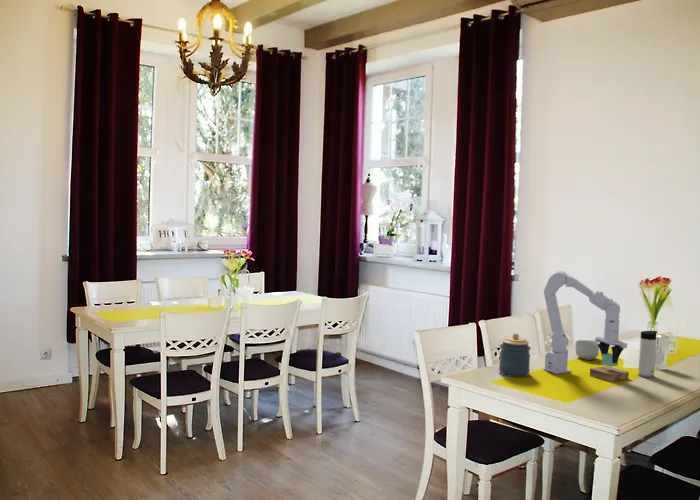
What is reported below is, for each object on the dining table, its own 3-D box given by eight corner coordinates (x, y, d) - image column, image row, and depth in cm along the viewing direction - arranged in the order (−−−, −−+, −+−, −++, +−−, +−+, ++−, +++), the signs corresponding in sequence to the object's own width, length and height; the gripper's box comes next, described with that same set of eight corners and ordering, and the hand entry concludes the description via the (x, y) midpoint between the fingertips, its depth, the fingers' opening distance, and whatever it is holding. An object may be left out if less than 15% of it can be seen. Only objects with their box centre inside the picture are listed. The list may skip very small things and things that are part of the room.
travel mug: (656, 378, 274) (659, 332, 273) (639, 377, 276) (642, 331, 274) (652, 374, 281) (655, 330, 279) (636, 373, 282) (639, 329, 280)
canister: (492, 372, 277) (494, 332, 275) (508, 368, 286) (510, 329, 284) (519, 379, 267) (521, 337, 266) (535, 374, 277) (537, 334, 275)
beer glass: (664, 366, 295) (666, 335, 294) (670, 370, 289) (672, 338, 287) (648, 366, 296) (650, 334, 295) (654, 370, 289) (656, 337, 288)
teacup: (601, 361, 303) (602, 345, 302) (578, 360, 303) (579, 344, 302) (591, 354, 317) (592, 338, 316) (569, 354, 317) (570, 338, 316)
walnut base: (611, 381, 267) (611, 374, 267) (589, 375, 277) (590, 368, 277) (628, 378, 273) (628, 372, 273) (606, 372, 282) (606, 365, 282)
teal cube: (610, 366, 271) (611, 356, 271) (601, 364, 275) (602, 353, 275) (617, 365, 274) (618, 355, 273) (608, 363, 277) (609, 352, 277)
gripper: (632, 332, 269) (630, 364, 270) (603, 326, 282) (601, 356, 283) (621, 334, 265) (619, 366, 266) (592, 327, 278) (591, 358, 279)
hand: (609, 361), depth 274 cm, fingers closed on teal cube, 4 cm apart
